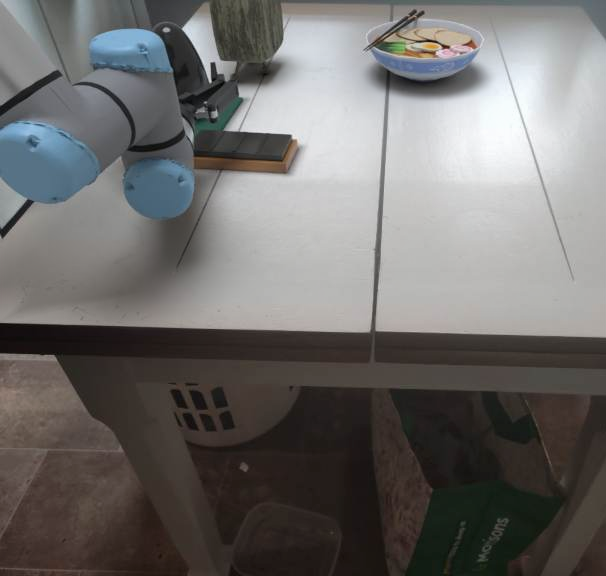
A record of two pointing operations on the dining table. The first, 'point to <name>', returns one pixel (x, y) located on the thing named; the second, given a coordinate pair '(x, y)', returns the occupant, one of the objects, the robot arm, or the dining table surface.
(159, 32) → the pump dispenser
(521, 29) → the dining table surface
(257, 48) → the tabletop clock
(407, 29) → the ramen bowl
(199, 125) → the mat
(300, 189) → the dining table surface
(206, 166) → the whetstone on wooden base
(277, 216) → the dining table surface
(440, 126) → the dining table surface
